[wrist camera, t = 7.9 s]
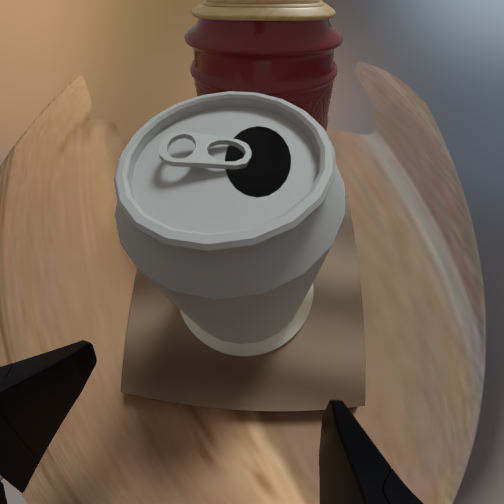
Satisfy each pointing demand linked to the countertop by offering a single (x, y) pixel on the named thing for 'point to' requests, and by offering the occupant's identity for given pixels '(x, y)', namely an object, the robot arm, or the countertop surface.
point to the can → (230, 209)
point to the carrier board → (255, 347)
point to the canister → (266, 50)
